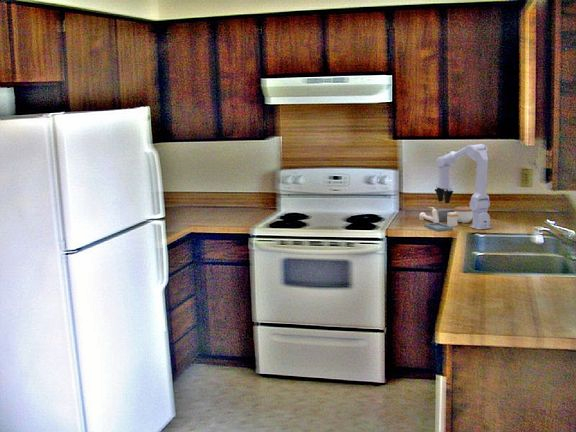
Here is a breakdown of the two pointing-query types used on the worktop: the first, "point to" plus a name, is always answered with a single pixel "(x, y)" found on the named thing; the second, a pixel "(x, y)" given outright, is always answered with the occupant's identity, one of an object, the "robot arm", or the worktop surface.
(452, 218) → the cartridge
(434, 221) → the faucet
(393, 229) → the worktop surface
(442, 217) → the block
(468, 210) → the lidded jar
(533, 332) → the worktop surface
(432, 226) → the tray
